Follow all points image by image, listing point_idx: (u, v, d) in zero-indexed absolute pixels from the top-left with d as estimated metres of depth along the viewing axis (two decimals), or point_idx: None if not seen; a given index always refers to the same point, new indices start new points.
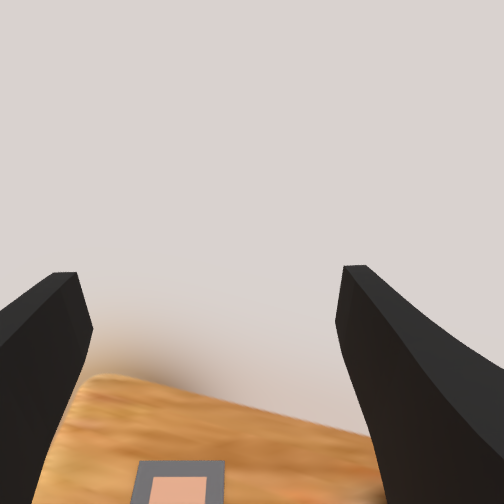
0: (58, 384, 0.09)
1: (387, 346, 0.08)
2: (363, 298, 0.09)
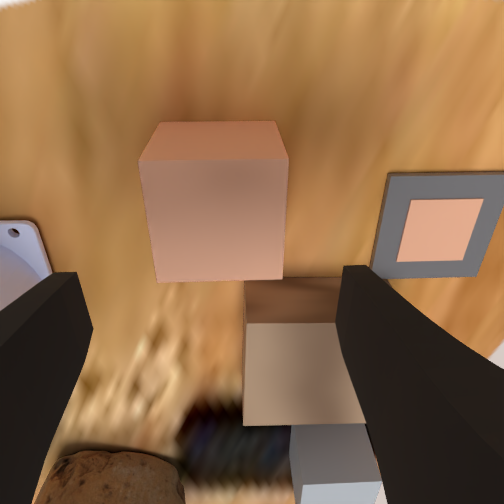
0: (58, 384, 0.09)
1: (387, 346, 0.08)
2: (363, 298, 0.09)
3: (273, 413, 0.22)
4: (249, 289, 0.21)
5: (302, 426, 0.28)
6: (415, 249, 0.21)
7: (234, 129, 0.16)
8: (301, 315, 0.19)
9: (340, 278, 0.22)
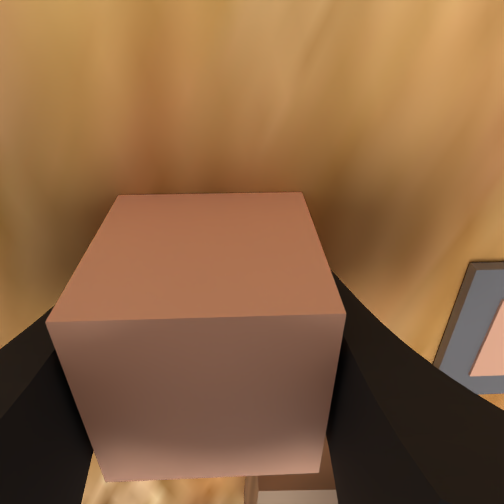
0: None
1: None
2: None
3: None
4: None
5: None
6: (498, 360, 0.14)
7: (237, 216, 0.10)
8: None
9: None
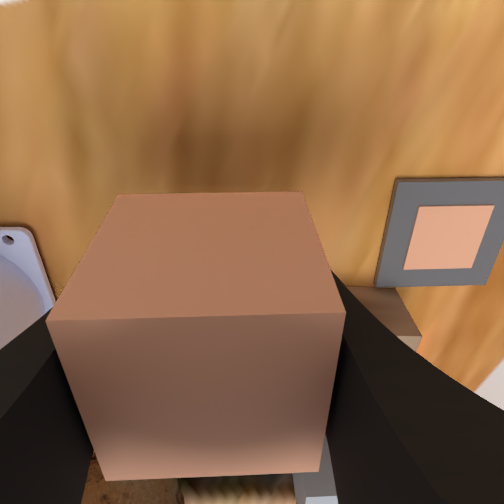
0: None
1: None
2: None
3: None
4: None
5: None
6: (423, 257, 0.20)
7: (237, 215, 0.10)
8: None
9: (348, 287, 0.21)
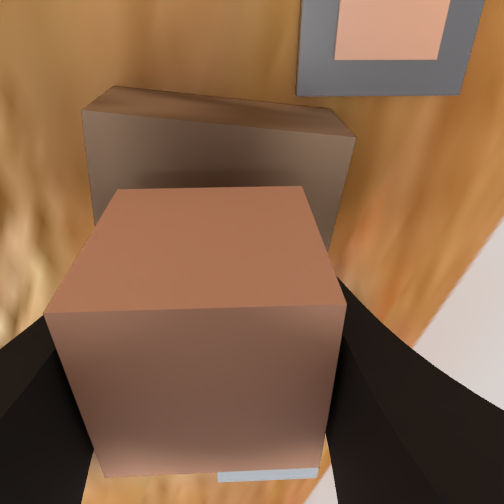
0: None
1: None
2: None
3: None
4: (113, 92, 0.13)
5: None
6: (362, 37, 0.13)
7: (237, 209, 0.10)
8: (180, 114, 0.12)
9: (261, 102, 0.15)
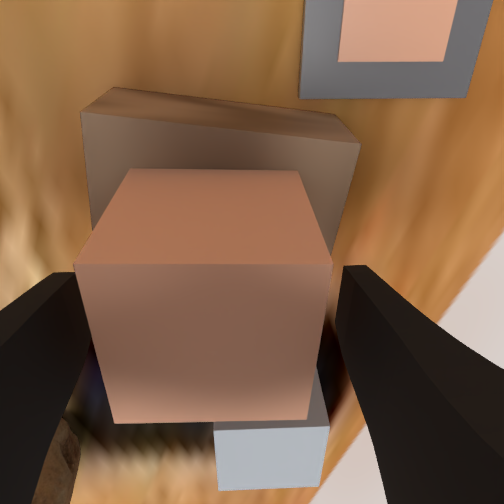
0: (59, 384, 0.09)
1: (387, 346, 0.08)
2: (363, 298, 0.09)
3: None
4: (113, 94, 0.13)
5: None
6: (367, 39, 0.13)
7: (239, 187, 0.11)
8: (182, 117, 0.12)
9: (264, 105, 0.14)
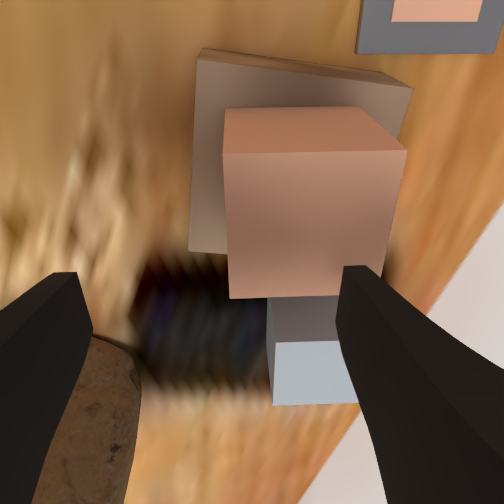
0: (59, 384, 0.09)
1: (387, 346, 0.08)
2: (363, 298, 0.09)
3: (226, 233, 0.18)
4: (207, 51, 0.16)
5: None
6: (415, 2, 0.16)
7: (317, 116, 0.14)
8: (271, 67, 0.15)
9: (325, 65, 0.17)
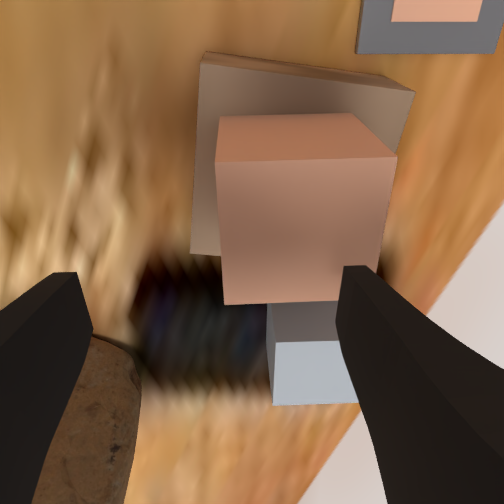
0: (59, 384, 0.09)
1: (387, 346, 0.08)
2: (363, 298, 0.09)
3: None
4: (210, 55, 0.16)
5: None
6: (415, 2, 0.16)
7: (310, 123, 0.14)
8: (274, 70, 0.15)
9: (327, 68, 0.17)
